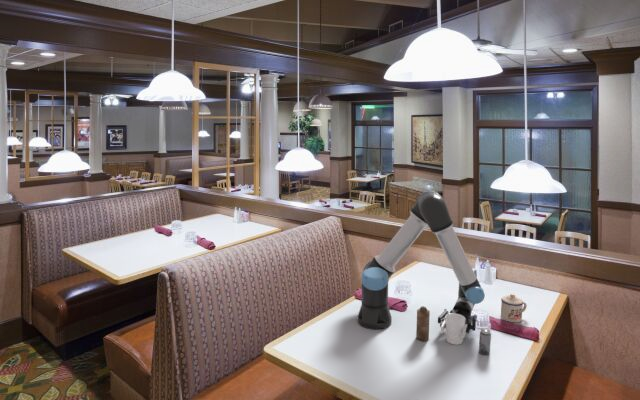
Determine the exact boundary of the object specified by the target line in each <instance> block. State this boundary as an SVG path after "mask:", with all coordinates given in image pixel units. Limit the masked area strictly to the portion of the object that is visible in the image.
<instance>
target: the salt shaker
mask: <svg viewBox="0 0 640 400" xmlns="http://www.w3.org/2000/svg"><path fill="white" fill-rule="evenodd" d="M491 339H492V333H491V330H490V329H488V328H481V329H480V331H479V341H478V342H479V343H478V353H479V354H480V355H483V356H489V355H490V354H491V353H490V352H491V341H492V340H491Z"/></svg>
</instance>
